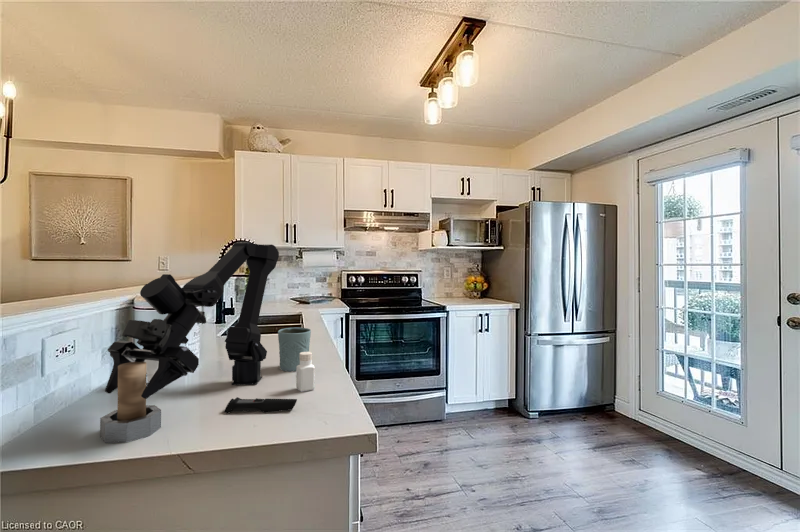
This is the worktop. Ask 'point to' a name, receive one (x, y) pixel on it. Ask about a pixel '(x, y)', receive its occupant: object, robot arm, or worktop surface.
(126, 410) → the wooden peg
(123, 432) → the gray faceted open holder
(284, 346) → the teal plant pot
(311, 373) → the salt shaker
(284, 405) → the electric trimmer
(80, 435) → the worktop surface
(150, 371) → the lightbulb
